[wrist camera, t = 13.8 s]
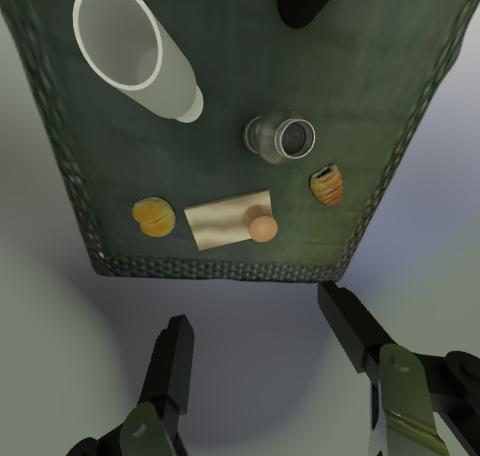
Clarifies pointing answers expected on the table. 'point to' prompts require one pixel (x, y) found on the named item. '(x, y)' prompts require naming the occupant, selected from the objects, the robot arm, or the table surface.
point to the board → (224, 219)
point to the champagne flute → (137, 56)
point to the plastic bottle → (279, 136)
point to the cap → (260, 223)
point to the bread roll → (154, 216)
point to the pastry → (327, 185)
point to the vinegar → (300, 11)
